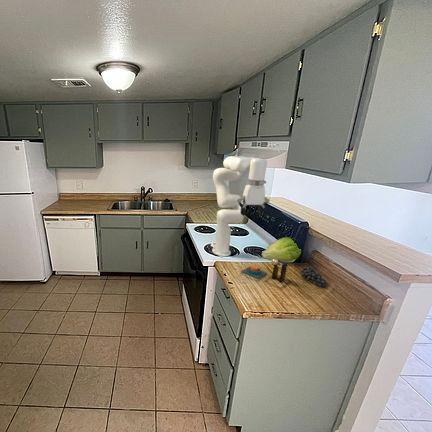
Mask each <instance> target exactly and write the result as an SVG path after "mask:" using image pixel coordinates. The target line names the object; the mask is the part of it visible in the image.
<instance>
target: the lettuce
mask: <svg viewBox="0 0 432 432" xmlns="http://www.w3.org/2000/svg"><path fill="white" fill-rule="evenodd" d="M291 238H292V237H288V236H285V237H282V238H279V239H276V240H275V241H273V242H272V243H271V244H269V245H268V246H267V247H266V248H265V249H264V250H263V251H262V252H261V257H262V258H264V259H266V260H267V259H268V260H271V261H272V259H277V260H280V263H290V262H294V261H296V260H297V259H299V257H300V256H301V255H302V250H301V249H299V248H298V246H297V244H296V243H294V241H293V240H292V239H293V238H292V239H291Z"/></svg>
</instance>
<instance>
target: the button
mask: <svg viewBox="0 0 432 432" xmlns="http://www.w3.org/2000/svg"><path fill="white" fill-rule="evenodd" d="M250 266H251V270H253V271H258V268H259V266H257V265H253V264H252V265H250Z"/></svg>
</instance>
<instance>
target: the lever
mask: <svg viewBox="0 0 432 432" xmlns="http://www.w3.org/2000/svg"><path fill="white" fill-rule="evenodd" d="M270 262H271V264H272V265H273V266H274V265H277V267H279V269H282V265H283V264H284V263H283V262H280V263H278V260H277V259H272V260H271V261H270Z"/></svg>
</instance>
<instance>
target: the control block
mask: <svg viewBox="0 0 432 432" xmlns="http://www.w3.org/2000/svg"><path fill="white" fill-rule="evenodd" d="M251 266H252V265H250V266H247V267H246V268H244V269H242V270H241V272H240V273H241V274H244V275H246V276H249V277H251V278H253V279H256V280H259V279H261V278H262V277H264V276H266V275H267V272H266V271H265V270H262V269H261V268H260V267H258V271H253V270H251Z"/></svg>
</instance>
